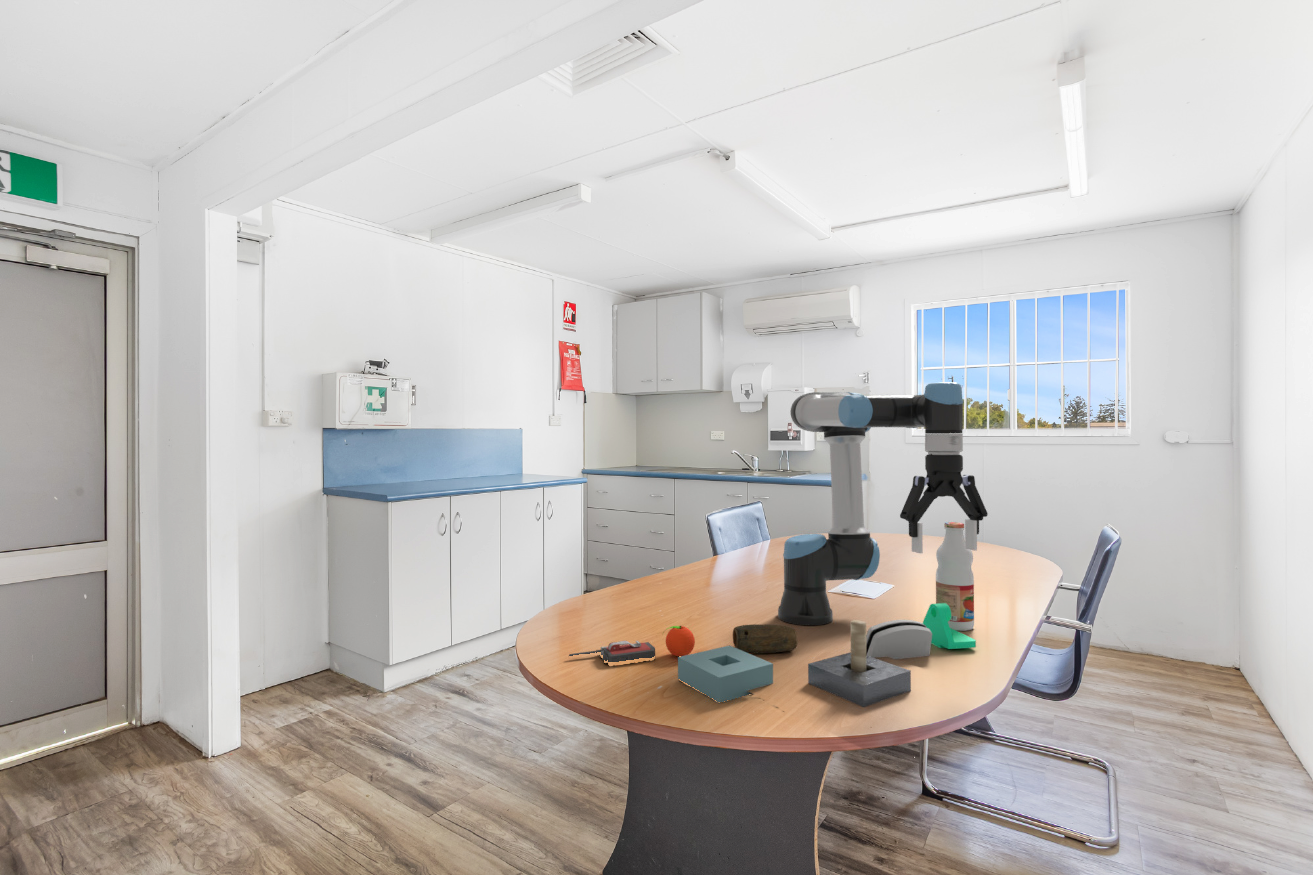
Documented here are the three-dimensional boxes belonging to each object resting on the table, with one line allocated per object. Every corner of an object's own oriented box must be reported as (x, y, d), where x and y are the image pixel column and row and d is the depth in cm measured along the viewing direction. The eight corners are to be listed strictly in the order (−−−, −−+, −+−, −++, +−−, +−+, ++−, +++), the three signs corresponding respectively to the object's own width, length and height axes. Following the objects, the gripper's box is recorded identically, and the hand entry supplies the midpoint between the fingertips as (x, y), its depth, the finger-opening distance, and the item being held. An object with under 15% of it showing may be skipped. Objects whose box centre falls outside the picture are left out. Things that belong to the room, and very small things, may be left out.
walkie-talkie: (648, 650, 157) (567, 660, 150) (648, 632, 157) (567, 641, 150) (661, 661, 149) (576, 673, 142) (661, 642, 149) (576, 653, 142)
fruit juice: (935, 620, 181) (934, 520, 181) (972, 623, 178) (972, 521, 178) (936, 629, 172) (936, 524, 172) (975, 633, 169) (975, 526, 169)
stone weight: (739, 659, 150) (739, 630, 150) (730, 649, 157) (730, 622, 157) (800, 654, 153) (800, 626, 153) (788, 645, 160) (788, 618, 160)
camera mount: (977, 651, 155) (977, 608, 155) (948, 653, 153) (948, 610, 153) (947, 636, 166) (947, 596, 166) (920, 638, 165) (920, 598, 165)
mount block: (808, 688, 132) (808, 663, 132) (854, 674, 140) (854, 651, 140) (863, 712, 120) (863, 685, 120) (910, 695, 128) (910, 670, 128)
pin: (847, 686, 130) (847, 621, 130) (857, 682, 132) (857, 619, 132) (859, 690, 128) (859, 625, 128) (869, 687, 130) (869, 623, 130)
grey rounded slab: (916, 648, 156) (925, 613, 153) (928, 661, 152) (938, 625, 149) (855, 654, 152) (863, 618, 149) (866, 668, 148) (874, 631, 145)
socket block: (678, 680, 136) (677, 657, 136) (729, 667, 144) (729, 645, 144) (719, 703, 125) (719, 677, 125) (773, 687, 132) (772, 663, 132)
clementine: (657, 658, 150) (657, 628, 150) (666, 649, 157) (666, 620, 157) (690, 662, 148) (689, 631, 148) (698, 653, 154) (698, 623, 154)
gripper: (903, 454, 134) (904, 556, 134) (1005, 453, 140) (1005, 551, 140) (883, 453, 142) (883, 550, 141) (980, 452, 147) (980, 545, 147)
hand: (944, 551), depth 141 cm, fingers open, 13 cm apart
